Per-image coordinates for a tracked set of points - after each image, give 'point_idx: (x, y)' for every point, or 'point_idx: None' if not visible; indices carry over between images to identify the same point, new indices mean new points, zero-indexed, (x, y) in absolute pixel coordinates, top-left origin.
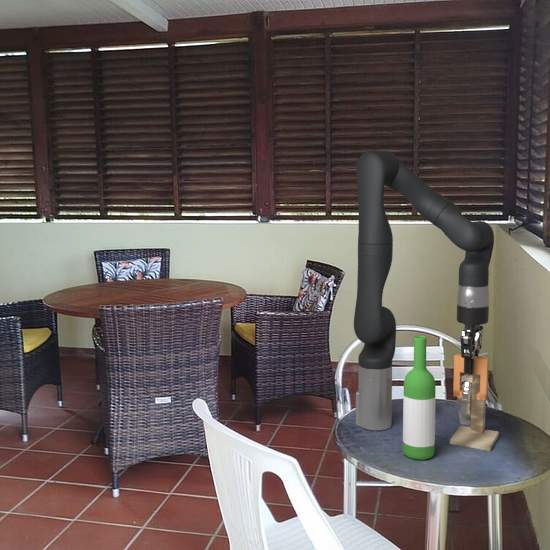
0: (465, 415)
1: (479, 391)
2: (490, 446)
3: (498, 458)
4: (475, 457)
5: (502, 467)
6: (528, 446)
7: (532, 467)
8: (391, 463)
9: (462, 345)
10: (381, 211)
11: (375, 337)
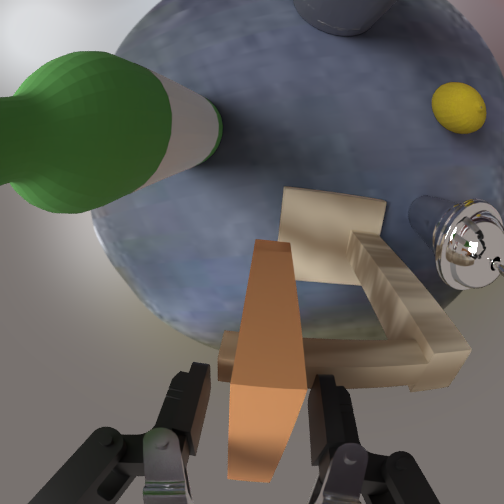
0: (418, 216)
1: (381, 306)
2: None
3: (241, 289)
4: (227, 248)
5: (202, 297)
6: (322, 331)
7: None
8: None
9: (50, 488)
10: None
11: None
